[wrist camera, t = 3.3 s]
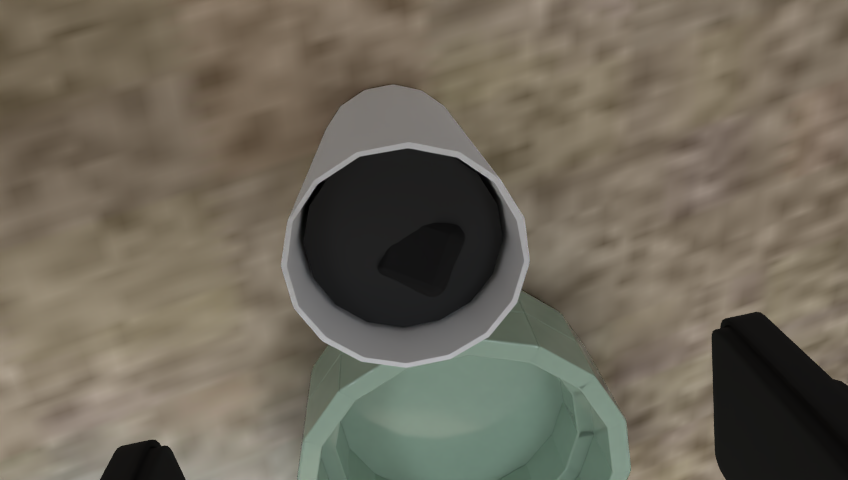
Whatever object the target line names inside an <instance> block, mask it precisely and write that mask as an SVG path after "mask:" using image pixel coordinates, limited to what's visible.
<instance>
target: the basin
mask: <svg viewBox="0 0 848 480" xmlns="http://www.w3.org/2000/svg"><path fill="white" fill-rule="evenodd" d="M630 471H631V464H630V454H629V444H628V434H627V424H626V420H625V417H624V415H623V414H622V412H621V410H620V408H619V406H618V405H617V403H616V401H615V399H614V397H613V396H612V394H611V392H610V390H609V388H608V387H607V385H606V383H605V382H604V380H603V378H602V376H601V374H600V372H599V371H598V369H597V367H596V365H595V363H594V362H593V360H592V358H591V356H590V354H589V353H588V351H587V350H586V348H585V347H584V345H583V344H582V342H581V341H580V340H579V338H578V337H577V335H576V334H575V332H574V331H573V329H572V328H571V327H570V325H569V324H568V322H567V321H566V319H565V318H564V317H563V315H562V314H561V313H560V312H559V311H557V310H555V309H553V308H552V307H550V306H548V305H546V304H545V303H543V302H541V301H539V300H538V299H536V298H534V297H532V296H531V295H529V294H527V293H525V292H524V291H522V290H521V292H520V295H519V298H518V301H517V304H516V305H515V306H514V307H513V308H512V310H511V311H510V312H509V313H508V314H507V316H506V317H505V318H504V319H503V320H502V322H501V323H500V324H499V325H498V327H497V328H496V329H495V330H494V331H493V333H492V334H491V335H490V336H489V337H488V338H486V339H484V340H483V341H481V342H479V343H477V344H476V345H474V346H472V347H470V348H469V349H467V350H465V351H464V352H462V353H460V354H458V355H457V356H455V357H453V358H452V359H449V360H443V361H438V362H433V363H428V364H423V365H418V366H413V367H408V368H404V367H396V366H389V365H382V364H374V363H367V362H361V361H359V360H357V359H355V358H353V357H351V356H350V355H348V354H346V353H344V352H342V351H340V350H338V349H336V348H334V347H332V346H330V345H329V344H328V346H327V347H326V349H325V350H324V352H323V353H322V354H321V356H320V357H319V359H318V360H317V362H316V363H315V365H314V366H313V369H312V372H311V379H310V385H309V392H308V399H307V406H306V413H305V421H304V428H303V436H302V444H301V451H300V459H299V467H298V475H297V480H627V479H628V476H629V474H630Z"/></svg>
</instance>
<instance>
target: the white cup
mask: <svg viewBox="0 0 848 480" xmlns="http://www.w3.org/2000/svg"><path fill="white" fill-rule="evenodd" d="M529 263H530V258H529V250H528V242H527V234H526V225H525V218H524V216H523V215H522V213H521V211H520V210H519V208H518V207H517V205H516V203H515V202H514V200H513V199H512V197H511V195H510V194H509V192H508V191H507V189H506V187H505V186H504V184H503V183H502V181H501V179H500V178H499V177H498V175H497V174H496V173H495V172H494V170H493V169H492V168H491V166H490V165H489V164H488V162H487V161H486V160H485V158H484V157H483V156H482V155H481V153H480V152H479V151H478V149H477V148H476V147H475V145H474V144H473V143H472V142H471V140H470V139H469V138H468V136H467V135H466V134H465V132H464V131H463V130H462V129H461V127H460V126H459V125H458V123H457V122H456V121H455V119H454V118H453V117H452V115H451V114H450V113H449V112H448V110H447V109H446V108H445V106H444V105H442V104H441V103H439V102H438V101H436V100H435V99H433V98H432V97H431V96H429V95H428V94H426V93H425V92H423V91H422V90H418V89H413V88H408V87H403V86H399V85H394V84H392V85H387V86H382V87H377V88H372V89H367V90H364V91H362V92H361V93H359V94H358V95H356V96H355V97H353V98H352V99H350V100H349V101H347V102H346V103H344V104H343V105H341V106H340V108H339V110H338V111H337V113H336V114H335V116H334V117H333V119H332V120H331V122H330V123H329V125H328V127H327V128H326V130H325V133H324V135H323V137H322V140H321V142H320V145H319V147H318V149H317V152H316V154H315V157H314V159H313V161H312V164H311V166H310V168H309V171H308V173H307V176H306V178H305V180H304V183H303V185H302V188H301V190H300V192H299V195H298V197H297V199H296V202H295V204H294V207H293V209H292V211H291V214H290V216H289V218H288V221H287V228H286V235H285V241H284V248H283V255H282V261H281V268H282V271H283V275H284V278H285V281H286V285H287V288H288V291H289V295H290V298H291V301H292V304H293V308H294V309H295V310H296V311H297V312H298V314H299V315H300V316H301V317H302V318H303V319H304V321H305V322H306V323H307V324H308V325H309V326H310V328H311V329H312V330H313V331H314V332H315V333H316V335H317V336H318V337H319V338H320V339H321V340H322V341H323V342H325V343H327V344H329V345H330V346H332V347H334V348H336V349H338V350H340V351H342V352H344V353H346V354H348V355H350V356H351V357H353V358H355V359H357V360H359V361H361V362H367V363H374V364H382V365H389V366H396V367H404V368H408V367H413V366H418V365H423V364H428V363H433V362H438V361H443V360H449V359H452V358H453V357H455V356H457V355H458V354H460V353H462V352H464V351H465V350H467V349H469V348H470V347H472V346H474V345H476V344H477V343H479V342H481V341H483V340H484V339H486V338H488V337H489V336H490V335H491V334H492V333H493V331H494V330H495V329H496V328H497V327H498V325H499V324H500V323H501V322H502V320H503V319H504V318H505V317H506V316H507V314H508V313H509V312H510V311H511V310H512V308H513V307H514V306H515V305H516V304H517V301H518V298H519V295H520V292H521V289H522V285H523V282H524V279H525V276H526V273H527V269H528V266H529Z"/></svg>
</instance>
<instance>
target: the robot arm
mask: <svg viewBox="0 0 848 480" xmlns="http://www.w3.org/2000/svg"><path fill="white" fill-rule="evenodd" d="M712 365H713V401H714V437H715V455H716V460H717V463H718V466H719V468H720V470H721V472H722V474H723V476H724V477H725V479H726V480H848V386H847V385H846V384H844V383H843V382H842V381H838V380H834V379H832V378H831V377H830V376H829V375H828V374H827V373H826V372H825V371H823V370H822V369H821V368H820V367H819V366H818V365H817V364H816V363H815V362H814V361H813V360H812V359H811V358H810V357H809V356H807V355H806V354H805V353H804V352H803V351H802V350H801V349H800V348H799V347H798V346H797V345H796V344H795V343H794V342H793V341H791V340H790V339H789V338H788V337H787V336H786V335H785V334H784V333H783V332H782V331H781V330H780V329H779V328H778V327H777V326H775V325H774V324H773V323H772V322H771V321H770V320H769V319H768V318H767V317H766V316H765V315H763V314H762V313H760V312H754V313H749V314H745V315H740V316H735V317H730V318H726V319H724V320H722V323H721V328H720V329H716V330H714V331H713V333H712ZM100 480H185V477H184V475H183V473H182V471H181V469H180V467H179V465H178V463H177V460H176V458H175V456H174V454H173V452H172V450H171V449H170V448H169V447H168V446H161V445H160V443H159V442H157V441H156V440H148V441H143V442H138V443H133V444H129V445H124V446H121V447H119V448H117V450H116V451H115V452H114V454H113V456H112V458H111V460H110V462H109V464H108V466H107V468H106V469H105V471H104V473H103V475H102V477H101V479H100Z"/></svg>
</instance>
